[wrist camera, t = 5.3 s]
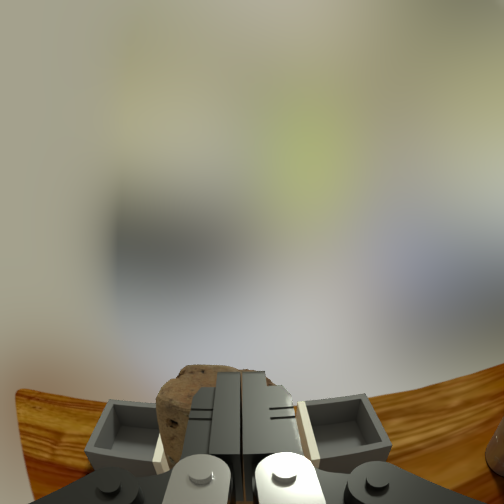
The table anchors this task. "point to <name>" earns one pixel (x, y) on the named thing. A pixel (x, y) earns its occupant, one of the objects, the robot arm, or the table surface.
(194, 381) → the block
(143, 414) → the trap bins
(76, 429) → the table surface
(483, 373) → the table surface
